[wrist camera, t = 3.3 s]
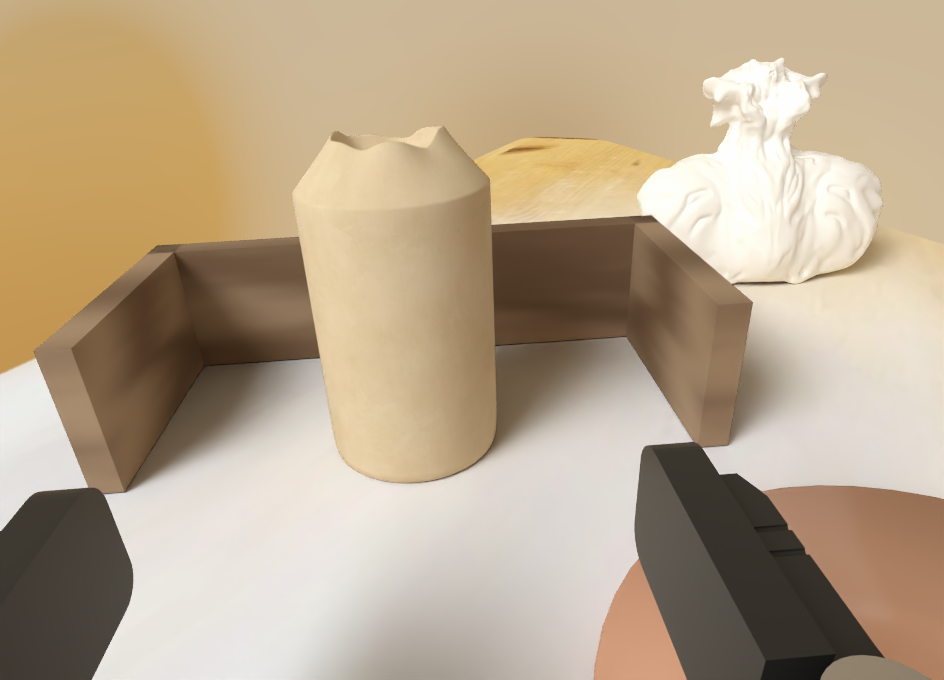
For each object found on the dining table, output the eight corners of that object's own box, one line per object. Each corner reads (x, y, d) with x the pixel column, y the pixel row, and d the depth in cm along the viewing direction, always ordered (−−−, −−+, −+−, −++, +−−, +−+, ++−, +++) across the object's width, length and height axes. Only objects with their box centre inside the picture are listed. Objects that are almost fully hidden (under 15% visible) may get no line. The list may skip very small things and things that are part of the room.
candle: (483, 383, 24) (472, 110, 20) (511, 473, 20) (505, 139, 15) (339, 399, 24) (294, 121, 19) (331, 496, 19) (267, 155, 14)
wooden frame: (187, 355, 27) (156, 245, 25) (641, 324, 28) (651, 215, 26) (91, 494, 19) (33, 351, 17) (728, 445, 20) (752, 302, 18)
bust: (846, 300, 35) (824, 113, 37) (936, 257, 28) (902, 27, 30) (626, 304, 36) (617, 121, 38) (656, 264, 28) (643, 38, 30)
